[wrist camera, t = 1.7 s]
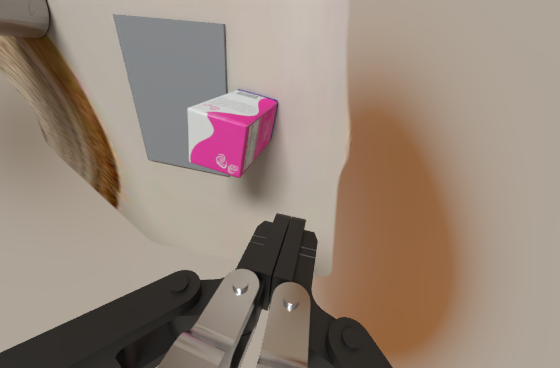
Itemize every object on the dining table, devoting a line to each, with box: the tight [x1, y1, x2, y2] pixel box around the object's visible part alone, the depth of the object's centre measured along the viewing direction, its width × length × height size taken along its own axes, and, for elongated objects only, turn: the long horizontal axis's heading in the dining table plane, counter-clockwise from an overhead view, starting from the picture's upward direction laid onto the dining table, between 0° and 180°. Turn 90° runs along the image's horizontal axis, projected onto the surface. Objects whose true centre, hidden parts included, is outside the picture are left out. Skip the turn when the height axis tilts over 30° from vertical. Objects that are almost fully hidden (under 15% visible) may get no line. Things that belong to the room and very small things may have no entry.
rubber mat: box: [113, 14, 229, 176], centre depth 31 cm, size 15×20×1 cm
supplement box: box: [187, 89, 278, 178], centre depth 25 cm, size 6×6×12 cm
